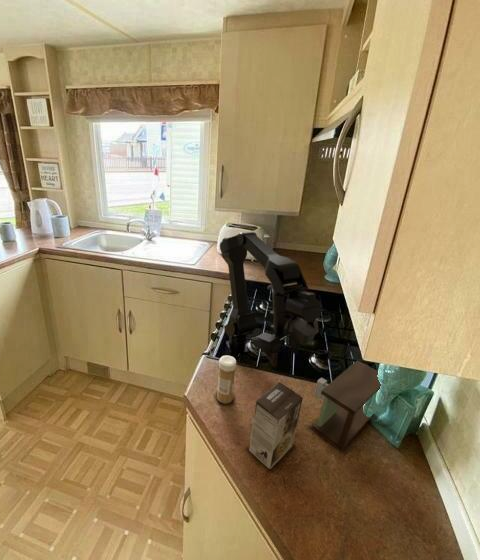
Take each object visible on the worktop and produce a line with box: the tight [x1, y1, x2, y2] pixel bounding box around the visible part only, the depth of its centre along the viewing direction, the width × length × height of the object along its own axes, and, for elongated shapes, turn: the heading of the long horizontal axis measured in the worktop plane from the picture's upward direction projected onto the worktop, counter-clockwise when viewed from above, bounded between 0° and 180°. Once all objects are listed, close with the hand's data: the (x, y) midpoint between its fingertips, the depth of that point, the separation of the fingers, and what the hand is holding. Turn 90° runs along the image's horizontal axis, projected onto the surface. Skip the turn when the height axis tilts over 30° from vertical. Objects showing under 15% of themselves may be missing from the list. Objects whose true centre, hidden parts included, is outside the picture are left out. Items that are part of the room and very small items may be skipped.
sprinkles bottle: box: [216, 355, 237, 404], centre depth 86 cm, size 5×5×13 cm
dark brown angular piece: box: [311, 360, 381, 451], centre depth 80 cm, size 8×18×13 cm, turn 129°
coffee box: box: [248, 381, 304, 470], centre depth 71 cm, size 9×6×16 cm
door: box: [313, 377, 339, 427], centre depth 81 cm, size 5×8×10 cm, turn 129°
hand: (285, 360), depth 88 cm, fingers open, 9 cm apart
